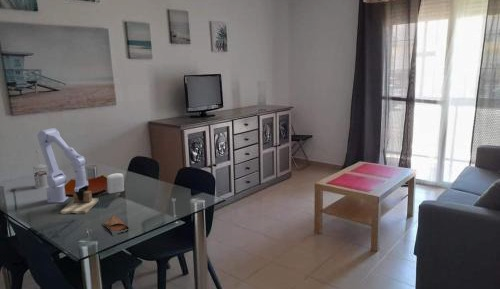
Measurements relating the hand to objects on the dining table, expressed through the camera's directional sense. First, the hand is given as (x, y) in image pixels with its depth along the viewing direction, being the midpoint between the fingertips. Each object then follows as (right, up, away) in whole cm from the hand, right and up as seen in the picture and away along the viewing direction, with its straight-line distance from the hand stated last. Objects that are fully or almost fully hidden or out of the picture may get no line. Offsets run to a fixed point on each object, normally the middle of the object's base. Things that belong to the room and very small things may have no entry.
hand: (82, 199), depth 225 cm
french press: (-42, +4, +31) cm, 52 cm away
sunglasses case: (+30, -11, -29) cm, 43 cm away
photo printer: (+13, +1, +21) cm, 24 cm away
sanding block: (0, -2, 0) cm, 2 cm away
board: (0, -4, -3) cm, 5 cm away
